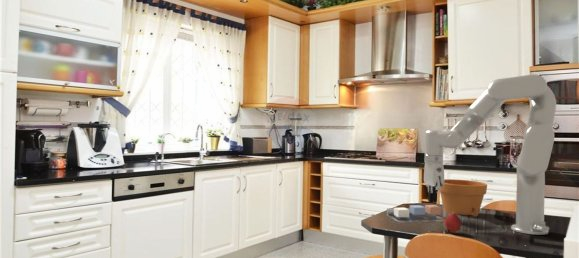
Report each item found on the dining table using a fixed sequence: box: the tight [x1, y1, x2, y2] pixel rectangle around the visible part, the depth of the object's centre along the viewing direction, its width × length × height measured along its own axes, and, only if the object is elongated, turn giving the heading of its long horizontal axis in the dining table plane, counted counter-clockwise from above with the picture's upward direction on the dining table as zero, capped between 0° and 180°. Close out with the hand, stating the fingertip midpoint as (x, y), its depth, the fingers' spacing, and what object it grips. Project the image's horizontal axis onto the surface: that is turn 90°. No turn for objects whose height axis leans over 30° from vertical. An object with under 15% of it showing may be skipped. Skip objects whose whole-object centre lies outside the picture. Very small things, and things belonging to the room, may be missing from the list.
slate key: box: [409, 204, 425, 215], centre depth 181 cm, size 5×5×3 cm
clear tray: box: [386, 207, 446, 223], centre depth 181 cm, size 13×22×4 cm, turn 98°
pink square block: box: [424, 204, 442, 215], centre depth 182 cm, size 5×5×3 cm
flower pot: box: [438, 178, 488, 218], centre depth 197 cm, size 21×21×15 cm
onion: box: [444, 212, 462, 234], centre depth 162 cm, size 6×6×8 cm
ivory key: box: [393, 207, 409, 217], centre depth 180 cm, size 5×5×3 cm
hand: (432, 202), depth 182 cm, fingers closed
